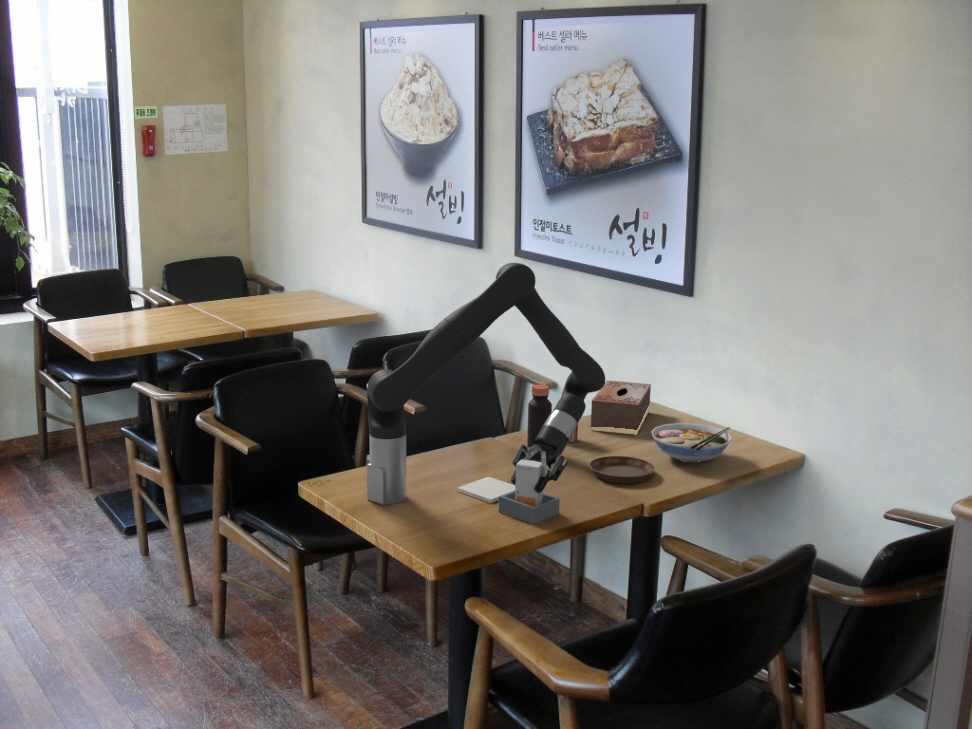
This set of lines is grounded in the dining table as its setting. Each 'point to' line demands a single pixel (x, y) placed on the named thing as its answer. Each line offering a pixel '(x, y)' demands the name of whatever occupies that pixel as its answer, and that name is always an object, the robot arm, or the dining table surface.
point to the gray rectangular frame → (529, 508)
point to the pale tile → (486, 489)
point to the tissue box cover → (620, 405)
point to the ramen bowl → (691, 441)
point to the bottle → (538, 412)
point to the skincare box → (528, 482)
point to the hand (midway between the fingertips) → (525, 487)
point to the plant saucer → (621, 469)
